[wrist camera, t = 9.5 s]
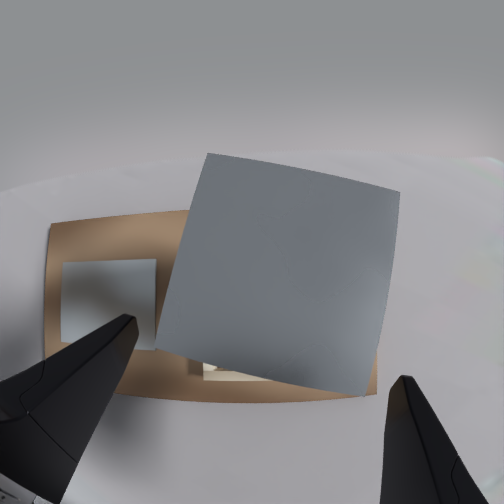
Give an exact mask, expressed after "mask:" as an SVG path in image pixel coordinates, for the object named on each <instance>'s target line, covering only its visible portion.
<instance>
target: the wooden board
mask: <svg viewBox="0 0 504 504" xmlns="http://www.w3.org/2000/svg"><path fill="white" fill-rule="evenodd" d="M188 213H189V210H180V211H168V212H156V213H144V214H134V215H123V216H113V217H103V218H94V219H85V220H76V221H68V222H60V223H52V224H51V228H50V236H49V245H48V254H47V266H46V280H45V302H44V342H45V359H46V358H48V357H49V356H51V355H53V354H54V353H56V352H58V351H60V350H61V349H63V348H65V347H66V346H68V345H70V344H72V343H73V342H75V341H77V340H78V339H80V338H82V337H84V336H85V335H87V334H89V333H90V332H92V331H94V330H96V329H97V328H99V327H101V326H102V325H104V324H106V323H108V322H109V321H111V320H113V319H115V318H116V317H118V316H120V315H121V314H124V313H128V314H131V315H134V316H135V317H136V319H137V324H138V329H139V337H138V340H137V342H136V345H135V347H134V350H133V352H132V355H131V357H130V360H129V362H128V365H127V367H126V370H125V372H124V374H123V376H122V378H121V380H120V382H119V384H118V386H117V388H116V389H115V391H114V393H117V394H124V395H132V396H140V397H148V398H158V399H168V400H181V401H196V402H217V403H282V402H303V401H318V400H331V399H341V398H351V397H359V396H356V395H349V394H342V393H336V392H330V391H324V390H318V389H313V388H307V387H302V386H297V385H292V384H287V383H282V382H278V381H273V380H269V379H264V378H260V377H256V376H251V375H247V374H243V373H239V372H235V371H231V370H228V369H224V368H220V367H217V366H213V365H209V364H206V363H202V362H199V361H195V360H192V359H189V358H185V357H182V356H179V355H176V354H173V353H169V352H166V351H163V350H160V349H157V348H154V344H155V339H156V335H157V330H158V326H159V322H160V318H161V313H162V309H163V305H164V301H165V297H166V293H167V289H168V285H169V281H170V278H171V274H172V270H173V266H174V263H175V259H176V255H177V252H178V248H179V244H180V241H181V237H182V234H183V230H184V227H185V224H186V220H187V217H188ZM375 394H377V352H376V356H375V360H374V364H373V368H372V372H371V376H370V380H369V384H368V387H367V391H366V394H365V396H367V395H375Z"/></svg>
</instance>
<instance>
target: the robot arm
mask: <svg viewBox="0 0 504 504" xmlns="http://www.w3.org/2000/svg"><path fill="white" fill-rule="evenodd" d="M138 337H139V329H138V324H137V319H136V317H135V316H134V315H131V314H128V313H124V314H121V315H120V316H118V317H116V318H115V319H113V320H111V321H109V322H108V323H106V324H104V325H102V326H101V327H99V328H97V329H96V330H94V331H92V332H90V333H89V334H87V335H85V336H84V337H82V338H80V339H78V340H77V341H75V342H73V343H72V344H70V345H68V346H66V347H65V348H63V349H61V350H60V351H58V352H56V353H54V354H53V355H51V356H49V357H48V358H46V359H45V360H42V361H41V362H39V363H37V364H36V365H34V366H32V367H30V368H28V369H27V370H25V371H23V372H21V373H19V374H16V375H14V376H12V377H10V378H8V379H6V380H3V381H1V382H0V504H34V500H35V498H36V496H37V495H38V496H40V497H41V498H43V499H45V500H47V501H49V502H51V503H53V504H60V502H61V500H62V498H63V495H64V493H65V491H66V489H67V487H68V484H69V482H70V480H71V478H72V476H73V474H74V472H75V469H76V467H77V465H78V463H79V461H80V459H81V457H82V454H83V452H84V450H85V448H86V446H87V444H88V442H89V440H90V438H91V436H92V434H93V432H94V430H95V428H96V426H97V424H98V422H99V420H100V418H101V416H102V414H103V412H104V411H105V409H106V407H107V405H108V403H109V401H110V399H111V397H112V395H113V393H114V391H115V389H116V388H117V386H118V384H119V382H120V380H121V378H122V376H123V374H124V372H125V370H126V367H127V365H128V362H129V360H130V357H131V355H132V352H133V350H134V347H135V345H136V342H137V340H138ZM380 504H489V503H488V502H487V500H486V499H485V497H484V496H483V494H482V493H481V491H480V490H479V488H478V487H477V485H476V484H475V482H474V481H473V479H472V477H471V476H470V474H469V473H468V471H467V469H466V467H465V465H464V464H463V462H462V460H461V458H460V456H459V455H458V453H457V451H456V449H455V447H454V446H453V444H452V442H451V440H450V438H449V437H448V435H447V433H446V431H445V430H444V428H443V426H442V424H441V423H440V421H439V419H438V418H437V416H436V414H435V412H434V411H433V409H432V407H431V406H430V404H429V402H428V401H427V399H426V397H425V396H424V394H423V392H422V391H421V389H420V388H419V386H418V384H417V383H416V381H415V379H414V378H413V377H412V376H407V375H401V376H400V377H399V378H398V379H397V381H396V382H395V383H394V385H393V386H392V388H391V389H390V392H389V399H388V408H387V416H386V424H385V432H384V452H383V470H382V484H381V495H380Z"/></svg>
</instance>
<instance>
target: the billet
mask: <svg viewBox="0 0 504 504" xmlns="http://www.w3.org/2000/svg"><path fill="white" fill-rule="evenodd" d="M399 200H400V192H398V191H394V190H391V189H387V188H383V187H379V186H375V185H371V184H367V183H363V182H359V181H355V180H351V179H347V178H342V177H338V176H333V175H329V174H324V173H320V172H315V171H310V170H305V169H300V168H295V167H290V166H285V165H280V164H274V163H269V162H263V161H257V160H251V159H245V158H239V157H232V156H226V155H219V154H212V153H208V154H207V157H206V160H205V163H204V166H203V169H202V172H201V175H200V178H199V181H198V184H197V187H196V191H195V194H194V197H193V200H192V204H191V207H190V210H189V213H188V217H187V220H186V224H185V227H184V230H183V234H182V237H181V241H180V244H179V248H178V252H177V255H176V259H175V263H174V266H173V270H172V274H171V278H170V281H169V285H168V289H167V293H166V297H165V301H164V305H163V309H162V313H161V318H160V322H159V326H158V330H157V335H156V339H155V344H154V348H157V349H160V350H163V351H166V352H169V353H173V354H176V355H179V356H182V357H185V358H189V359H192V360H195V361H199V362H202V363H206V364H209V365H213V366H217V367H220V368H224V369H228V370H231V371H235V372H239V373H243V374H247V375H251V376H256V377H260V378H264V379H269V380H273V381H278V382H282V383H287V384H292V385H297V386H302V387H307V388H313V389H318V390H324V391H330V392H336V393H342V394H349V395H356V396H363V397H365V394H366V391H367V387H368V384H369V380H370V376H371V372H372V368H373V364H374V360H375V356H376V352H377V347H378V343H379V338H380V334H381V329H382V324H383V319H384V314H385V309H386V303H387V298H388V292H389V286H390V279H391V273H392V266H393V258H394V251H395V242H396V234H397V224H398V213H399Z"/></svg>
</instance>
